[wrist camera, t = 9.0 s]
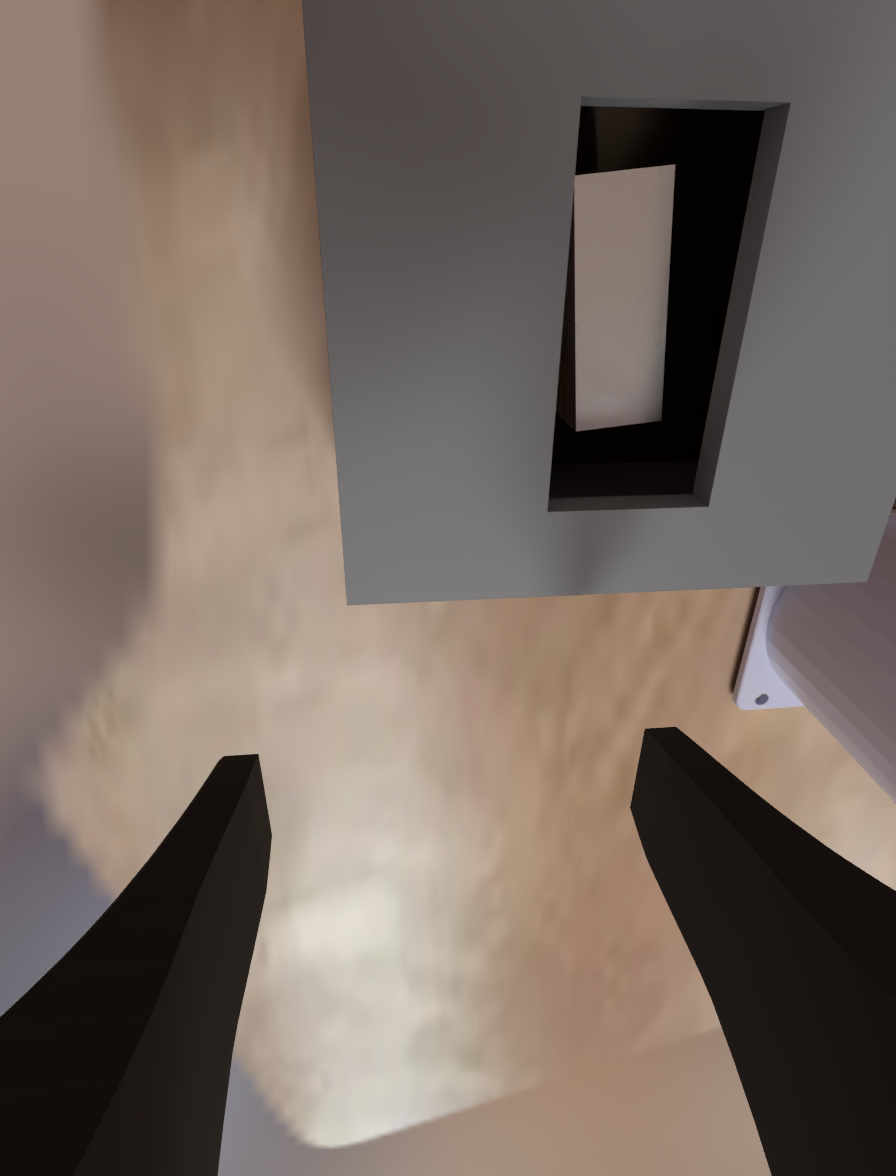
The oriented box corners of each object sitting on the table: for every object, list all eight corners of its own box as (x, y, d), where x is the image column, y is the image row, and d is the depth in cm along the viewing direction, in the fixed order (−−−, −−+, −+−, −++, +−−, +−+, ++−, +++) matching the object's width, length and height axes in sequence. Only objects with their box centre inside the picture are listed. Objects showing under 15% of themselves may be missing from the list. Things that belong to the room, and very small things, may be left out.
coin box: (814, 59, 16) (1082, -49, 10) (724, 483, 21) (866, 581, 15) (325, 42, 15) (294, -92, 9) (354, 494, 20) (346, 605, 14)
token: (597, 184, 17) (675, 164, 13) (596, 380, 20) (661, 420, 15) (522, 192, 17) (573, 175, 13) (530, 388, 19) (575, 431, 15)
